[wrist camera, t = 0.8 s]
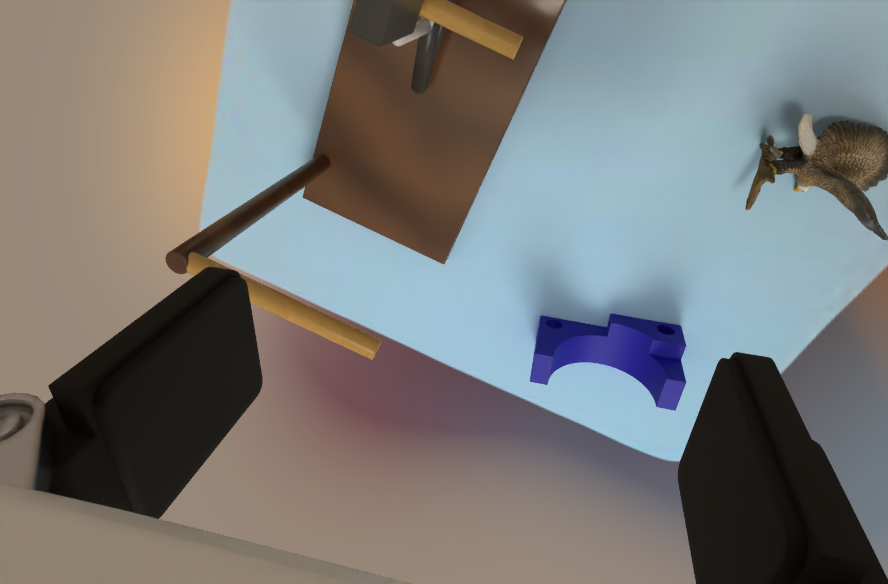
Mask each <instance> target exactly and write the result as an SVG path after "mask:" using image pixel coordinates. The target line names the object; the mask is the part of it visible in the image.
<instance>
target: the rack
mask: <svg viewBox="0 0 888 584" xmlns="http://www.w3.org/2000/svg"><path fill="white" fill-rule="evenodd" d="M565 2H566V0H456V3H455V4H454V3H451V2H449V1H447V0H424V1H423V4H422V7H421V11H420V14H419V17H418V20H417V22H418V21H421V18H422V17H424V18H426V19H429V20H431V21H433V22H435V23H437V24H439V25H441V26H443V27H445V28H447V29H446V32H445V35H444V37H443V40H442V43H441V46H440V49H439V52H438V55H437V57H436V60H435V63H434V66H433V69H432V72H431V75H430V77H429V82H428V87H427V90H426V91H425V92H424V93H422V94H417V93H415V92H414V91H413V90H412V88H411V81H412V75H413V69H414V63H415V57H416V51H417V45H418V39H419V38H417V39H414V40H412V41H410V42H408V43H406V44H404V45H401V46H396V45H394V44H393V43H389V44H387V45H385V46H383V47H379V46H377V45H374V44H372V43H370V42H368V41H366V40H364V39H362V38H360V37H358V36H356V35H353V34H351V33H350V32H349V28H350V24H351V20H352V16H353V12H354V8H355V4H356V0H354V2H353V6H352V10H351V14H350V17H349V21H348V25H347V29H346V33H345V37H344V41H343V44H342V48H341V52H340V56H339V60H338V64H337V67H336V71H335V75H334V79H333V83H332V87H331V90H330V94H329V98H328V102H327V106H326V110H325V113H324V117H323V121H322V125H321V129H320V133H319V137H318V140H317V144H316V148H315V152H314V156H313V159H312V160H311V161H309V162H307V163H306V164H304V165H303V166H301V167H300V168H298V169H297V170H295V171H294V172H292V173H290V174H289V175H287V176H286V177H284V178H283V179H281V180H280V181H278V182H277V183H275V184H273V185H272V186H270V187H269V188H267V189H266V190H264V191H263V192H261V193H260V194H258V195H256V196H255V197H253V198H252V199H250V200H249V201H247V202H246V203H244V204H243V205H241V206H240V207H238V208H236V209H235V210H233V211H232V212H230V213H229V214H227V215H226V216H224V217H223V218H221V219H219V220H218V221H216V222H215V223H213V224H212V225H210V226H209V227H207V228H206V229H204V230H202V231H201V232H199V233H198V234H197V235H195V236H193V237H192V238H190V239H189V240H187V241H185V242H184V243H182V244H181V245H179V246H178V247H176V248H175V249H173V250H172V251H170V252H169V253H168V254H167V255H166V263H167V265H168V267H169V268H170V269H171V270H172V271H174V272H175V273H178V274H185V273H190V274H192V275H194V276H195V275H197V274H198V273H199V272H201V271H202V270H203V269H205V268H207V267H217V268H224V269H229V268H227V267H225V266H223V265H221V264H219V263H217V262H215V261H213V260H211V259H209V258H207V257H208V256H210V255H211V254H213V253H214V252H215V251H217V250H218V249H220V248H221V247H222V246H224V245H225V244H226V243H228V242H229V241H231V240H232V239H233V238H235V237H236V236H237V235H239V234H240V233H242V232H243V231H244V230H246V229H247V228H248V227H250V226H251V225H253V224H254V223H255V222H257V221H258V220H259V219H261V218H262V217H264V216H265V215H266V214H268V213H269V212H271V211H272V210H273V209H275V208H276V207H277V206H279V205H280V204H282V203H283V202H284V201H286V200H287V199H288V198H290V197H291V196H293V195H294V194H295V193H297V192H298V191H299V190H301V189H302V188H304V187H305V190H304V194H303V198H305V199H307V200H309V201H311V202H313V203H316V204H318V205H320V206H322V207H324V208H326V209H328V210H330V211H332V212H335V213H337V214H339V215H341V216H343V217H345V218H347V219H349V220H351V221H353V222H356V223H358V224H360V225H362V226H364V227H366V228H368V229H370V230H372V231H375V232H377V233H379V234H381V235H383V236H385V237H387V238H389V239H391V240H394V241H396V242H398V243H400V244H402V245H404V246H406V247H408V248H410V249H412V250H415V251H417V252H419V253H421V254H423V255H425V256H427V257H429V258H431V259H434V260H436V261H438V262H440V263H442V264H445V262H446V260H447V258H448V256H449V254H450V251H451V249H452V247H453V245H454V243H455V241H456V238H457V236H458V234H459V232H460V230H461V228H462V225H463V223H464V221H465V219H466V217H467V215H468V212H469V210H470V208H471V206H472V204H473V202H474V199H475V197H476V195H477V193H478V191H479V189H480V186H481V184H482V182H483V180H484V178H485V176H486V173H487V171H488V169H489V167H490V165H491V163H492V160H493V158H494V156H495V154H496V152H497V150H498V147H499V145H500V143H501V141H502V139H503V137H504V134H505V132H506V130H507V128H508V126H509V124H510V121H511V119H512V117H513V115H514V113H515V111H516V108H517V106H518V104H519V102H520V100H521V98H522V95H523V93H524V91H525V89H526V87H527V85H528V82H529V80H530V78H531V76H532V74H533V72H534V69H535V67H536V65H537V63H538V61H539V59H540V56H541V54H542V52H543V50H544V48H545V46H546V43H547V41H548V39H549V37H550V35H551V33H552V30H553V28H554V26H555V24H556V22H557V20H558V17H559V15H560V13H561V11H562V9H563V7H564V4H565ZM230 270H232V269H230ZM239 274H240V273H239ZM240 276H241V278H242V279H244V280H245V281H246V282H247V286H248V291H249V297H250V302H251V303H253V304H255V305H257V306H259V307H261V308H263V309H266V310H268V311H270V312H272V313H274V314H276V315H278V316H280V317H283V318H285V319H287V320H289V321H291V322H293V323H295V324H297V325H299V326H302V327H304V328H306V329H308V330H310V331H312V332H314V333H316V334H318V335H320V336H323V337H325V338H327V339H329V340H331V341H333V342H335V343H338V344H340V345H342V346H344V347H346V348H348V349H350V350H352V351H354V352H356V353H358V354H361V355H363V356H365V357H367V358H369V359H371V360H373V359H374V357H375V356H376V354H377V352H378V350H379V348H380V345H381V343H382V341H381V340H379V339H377V338H375V337H373V336H371V335H369V334H367V333H365V332H363V331H361V330H358V329H356V328H354V327H352V326H350V325H348V324H346V323H343V322H341V321H339V320H337V319H335V318H333V317H331V316H329V315H327V314H325V313H323V312H320V311H318V310H316V309H314V308H312V307H310V306H307V305H306V304H303V303H301V302H299V301H297V300H295V299H293V298H291V297H289V296H286V295H285V294H282V293H280V292H278V291H276V290H274V289H272V288H270V287H268V286H265V285H263V284H261V283H259V282H257V281H255V280H253V279H250V278H249V277H246V276H244V275H242V274H240Z"/></svg>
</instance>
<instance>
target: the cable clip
mask: <svg viewBox="0 0 888 584" xmlns="http://www.w3.org/2000/svg"><path fill="white" fill-rule="evenodd" d="M685 347H686V344H685V340H684V336H683V332H682V328H681V326H677V325H672V324H666V323H660V322H655V321H649V320H643V319H638V318H632V317H626V316H621V315H615V314H611V315H610V318H609V322H608V326H607V327H601V326H595V325H590V324H584V323H579V322H573V321H568V320H562V319H557V318H551V317H545V316H541V317H540V322H539V328H538V333H537V338H536V344H535V351H534V357H533V364H532V371H531V377H530V382H535V383H540V384H545V385H547V384H548V380H549V378H550V376H551V375H552V374H553V372H554V371H556V370H557V369H558V368H560V367H562V366H565V365H567V364H571V363H577V362H593V363H599V364H604V365H608V366H611V367H614V368H617V369H619V370H622V371H624V372H626V373H628V374H629V375H631V376H633V377H634V378H636V379H637V380H638V381H640V382H641V383H642V384H643V385H644V386H645V387H646V388H647V389H648V390H649V392H650V393H651V395H652V396H653V398H654V400H655V403H656V407H660V408H665V409H670V410H676V407H677V405H678V402H679V400H680V397H681V394H682V392H683V389H684V387H685V384H686V380H685V376H684V372H683V367H682V363H681V358H682V355H683V353H684V350H685Z"/></svg>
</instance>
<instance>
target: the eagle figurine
mask: <svg viewBox="0 0 888 584" xmlns="http://www.w3.org/2000/svg"><path fill="white" fill-rule="evenodd" d="M812 120H813V119H812V115H811V113H803V115H802V117H801V119H800V122H799V124H798V127H797V129H798V137H799V138H798V141H799V144H800V146H798V147H789V148H786V147H783V148H776V147H774V146H773V145H774V139H773V137H772V136H769V137H768V138H767V143H768V145H766V144H765V143H764V142H762V143H761V144H760V148H761V150H762V156H761V159H760V162H759V168H758V171H757V173H756V176H755V178H754V181H753V184H752V187H751V190H750V193H749V196H748V199H747V203H746V210H749V209H751V207H752V205H753V204H754V202H755V200H756V198H757V195H758V194H759V192H760V188H761V186H762V185H763V184H764V183H765V182H766V181H768V182H771V183H774V182H775V177H774V175H775V174H778V175H781V174H784V173H787V172H789V173H794V174H796V182H797V187H796V188H795V189H794V191H802V192H806V191H807V190H809V189H810V187H811V186H817V187H820V188H822V189H824V190H826V191H828V192H830V193H831V194H832V195H834V196H835V197H836V198H837V199H838V200H839V201H840V202H841V203H842V204H843V205H844V206H845V207H846V208H848V209H849V210H850V211H852V212H853V213H854V214H855V216H856V217H857V218H858V220H859V221H860V222H861V223H862V224H863V225H864V226H865V227H866V228H868V229H869V230H871V231H873V232H874V233H875V234H877V235H878V236H879V237H880V238H882V239H883V240H888V236H887V235H886V233H885V232H884V230H883V229H882V228H881V226H880V225H879V223H878V220H877V217H876V213H875V211H874V209H873V207H872V205H871V203H870V201H869V200H868V198H867V197H866V196H865V195H864V193H863V192H862V190H863V191H867V190H869V188H870V187H874V186H877V184H878V182H879V181H883V180H885V179H886V178H887V174H888V135H887V132H886V131H883V129H881V128H878V129H877V128H875V127H872V126H869V127H867V126H865V125H861V124H857V125H856V124H855V123H854V122H849V121H840V122H833V123H832V124H831V125H828V129H827V130H825V131H824V132H823V135H819V136H818V137H817V138H816V136H815V134H814V132H813V125H812ZM777 158H782V159H783V160H777V161H776V159H777ZM849 179H851V180H852V181H853V182H854V183H855V184H854V183H853V182H852V181H850V180H849ZM857 186H858V187H859V188H860V189H861V190H860V189H859V188H858V187H857Z"/></svg>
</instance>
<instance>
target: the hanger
mask: <svg viewBox="0 0 888 584" xmlns="http://www.w3.org/2000/svg"><path fill="white" fill-rule="evenodd" d="M423 1H424V0H356V4H355V8H354V12H353V16H352V20H351V24H350V28H349V32H350V33H351V34H353V35H356V36H358V37H360V38H362V39H364V40H366V41H368V42H370V43H372V44H374V45H377V46H379V47H383V46H385V45H387V44H389V43H393V44H394V45H396V46H401V45H404V44H406V43H408V42H410V41H412V40H414V39H417V38H419V39H418V45H417V51H416V57H415V63H414V69H413V75H412V81H411V88H412V90H413V91H414V92H415V93H417V94H422V93H424V92H425V91H426V90H427V87H428V82H429V77H430V75H431V72H432V69H433V66H434V63H435V60H436V57H437V55H438V52H439V49H440V46H441V43H442V40H443V37H444V35H445V32H446V29H447V28H445V27H443V26H441V25H439V24H437V23H435V22H433V21H431V20H429V19H426V18H424V17H422V18H421V21H418V22H417V20H418V17H419V14H420V11H421V7H422V4H423ZM447 1H449V2H451V3H454V4H455V3H456V0H447Z"/></svg>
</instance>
